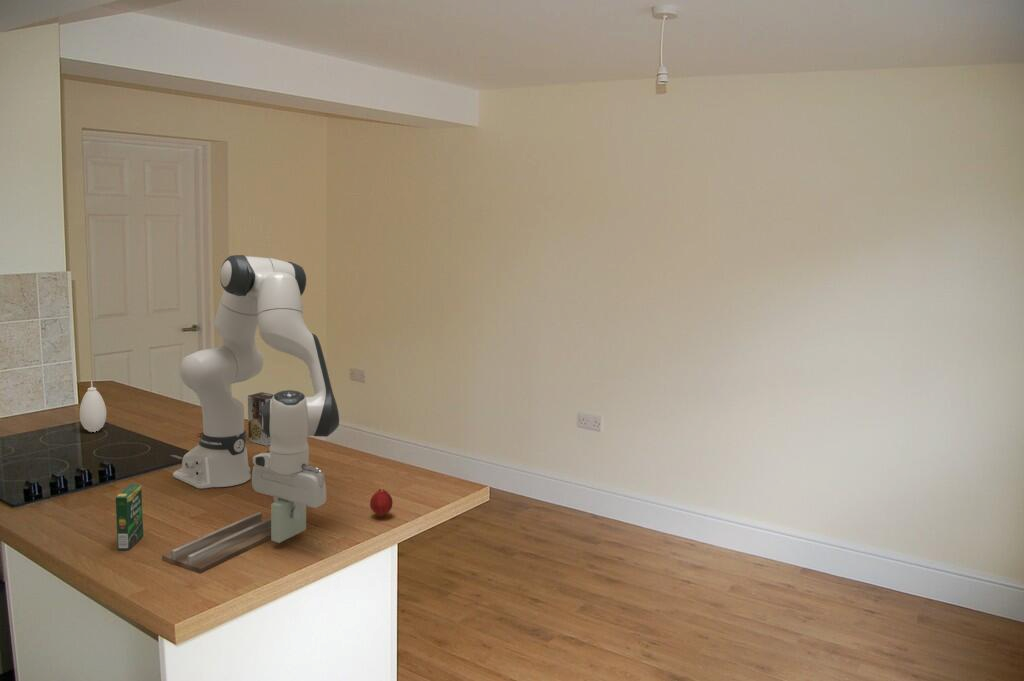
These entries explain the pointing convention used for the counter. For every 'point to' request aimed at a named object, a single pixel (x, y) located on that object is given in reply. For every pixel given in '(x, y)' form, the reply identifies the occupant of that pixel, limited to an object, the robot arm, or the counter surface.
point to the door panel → (285, 520)
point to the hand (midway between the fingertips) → (288, 516)
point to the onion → (381, 502)
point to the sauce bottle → (92, 410)
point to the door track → (221, 544)
